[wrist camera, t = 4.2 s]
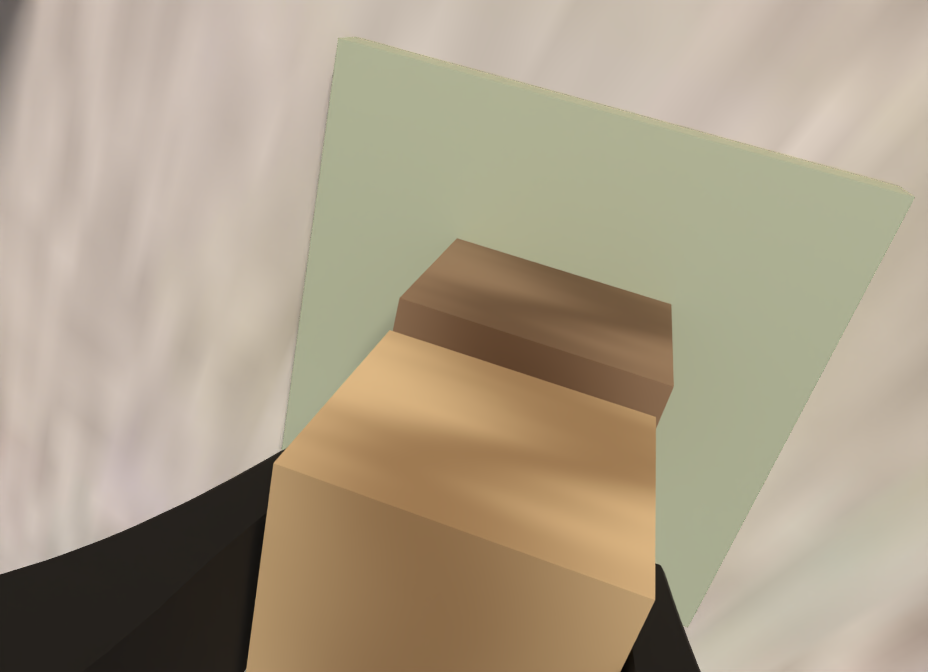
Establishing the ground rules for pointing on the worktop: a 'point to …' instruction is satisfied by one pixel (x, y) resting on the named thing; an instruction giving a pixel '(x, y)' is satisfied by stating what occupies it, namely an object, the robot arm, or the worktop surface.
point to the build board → (596, 258)
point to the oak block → (457, 525)
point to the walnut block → (544, 325)
